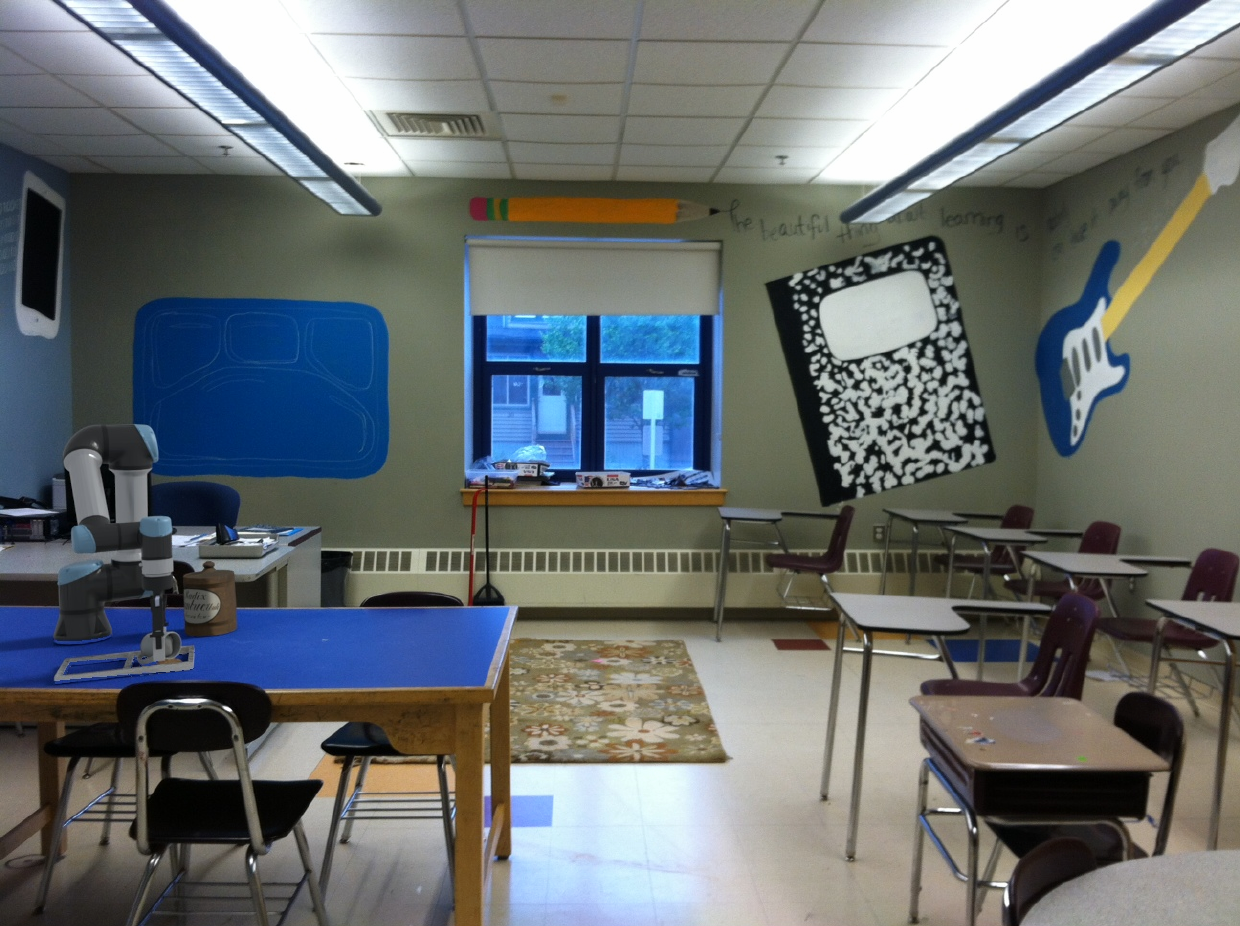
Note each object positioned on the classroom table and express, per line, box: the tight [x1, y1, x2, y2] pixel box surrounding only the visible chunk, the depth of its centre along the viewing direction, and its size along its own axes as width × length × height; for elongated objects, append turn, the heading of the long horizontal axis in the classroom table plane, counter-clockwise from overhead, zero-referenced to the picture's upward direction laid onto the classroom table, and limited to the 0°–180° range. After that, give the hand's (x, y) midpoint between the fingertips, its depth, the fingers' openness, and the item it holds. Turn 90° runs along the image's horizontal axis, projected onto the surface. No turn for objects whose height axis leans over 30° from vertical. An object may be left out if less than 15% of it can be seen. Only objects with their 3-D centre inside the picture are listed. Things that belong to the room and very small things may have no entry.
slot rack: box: [53, 644, 196, 681], centre depth 236 cm, size 19×31×2 cm, turn 115°
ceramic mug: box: [136, 631, 182, 665], centre depth 238 cm, size 10×8×7 cm
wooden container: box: [182, 560, 238, 638], centre depth 275 cm, size 15×15×22 cm
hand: (160, 655), depth 239 cm, fingers closed on ceramic mug, 10 cm apart
